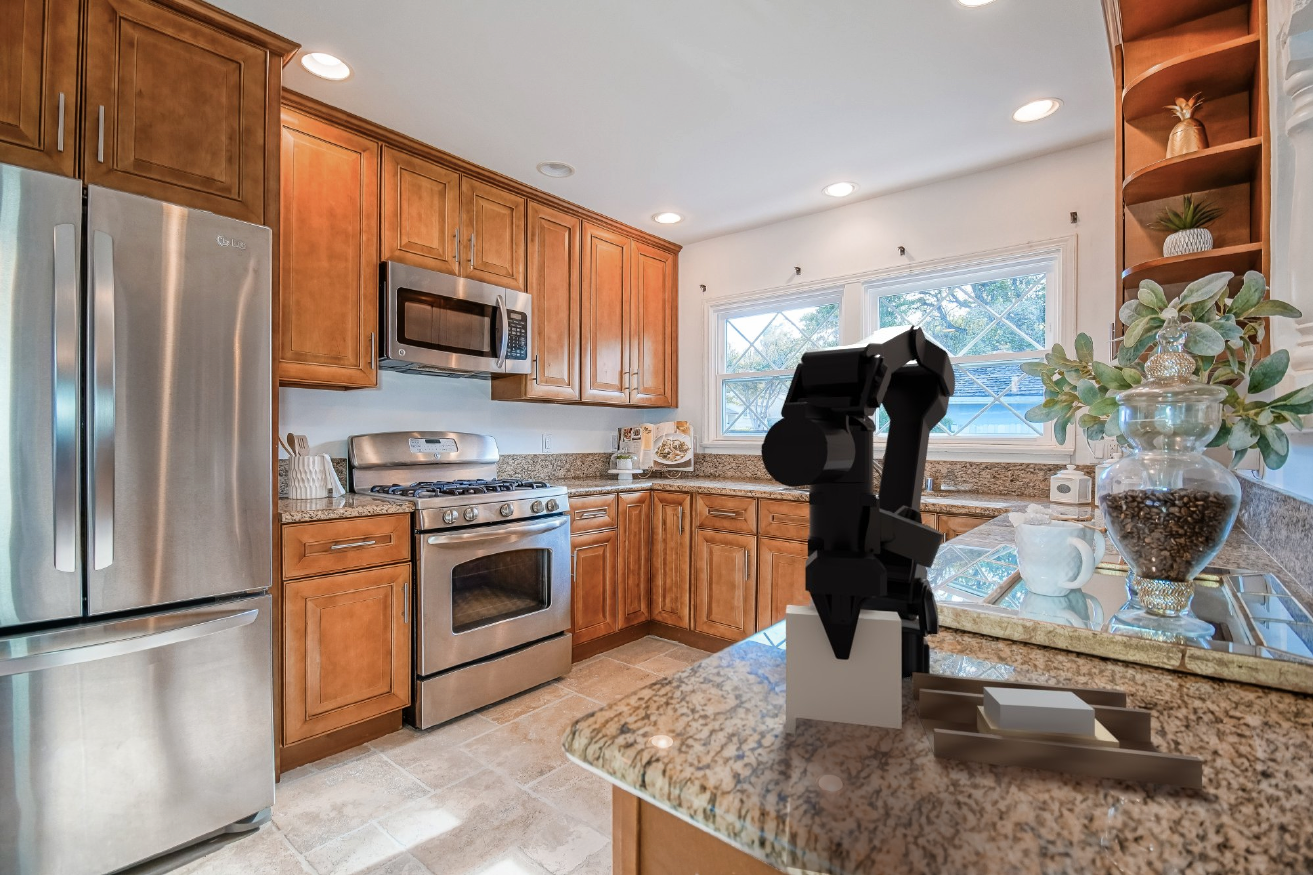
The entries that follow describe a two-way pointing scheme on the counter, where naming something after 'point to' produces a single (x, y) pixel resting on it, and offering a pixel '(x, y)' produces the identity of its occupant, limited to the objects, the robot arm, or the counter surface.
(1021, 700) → the grey offcut
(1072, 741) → the oak offcut
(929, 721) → the rack
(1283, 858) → the counter surface
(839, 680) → the panel
